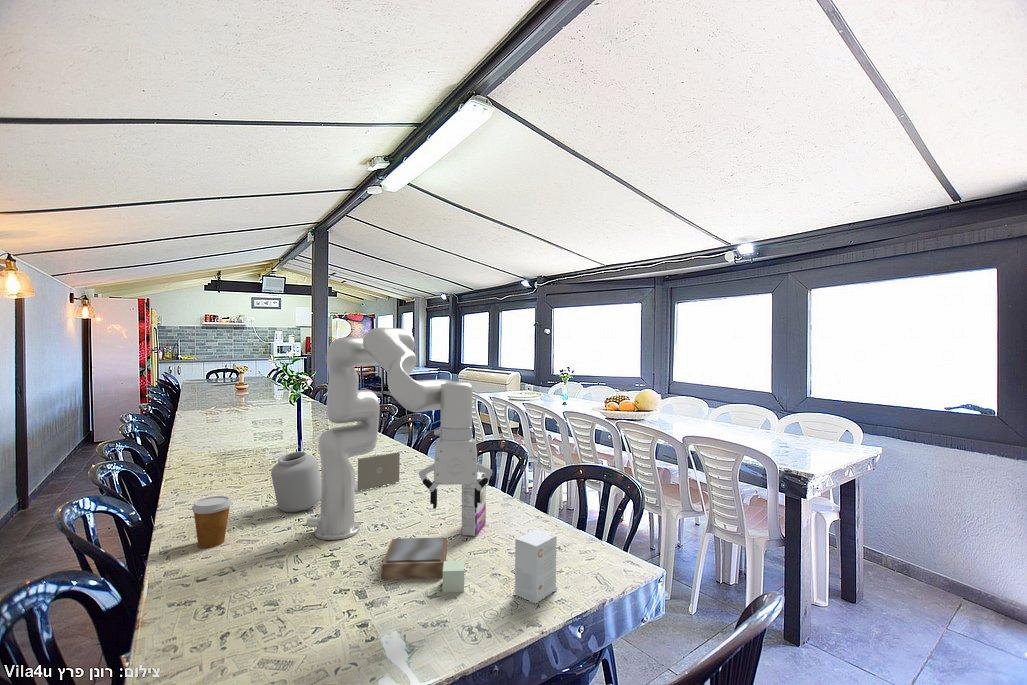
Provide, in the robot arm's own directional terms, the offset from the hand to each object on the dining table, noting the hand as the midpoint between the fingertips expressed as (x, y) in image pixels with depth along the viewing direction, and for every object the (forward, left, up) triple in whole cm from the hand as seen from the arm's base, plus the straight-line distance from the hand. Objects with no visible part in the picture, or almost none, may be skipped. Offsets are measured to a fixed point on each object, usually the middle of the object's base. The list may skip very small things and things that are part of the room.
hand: (455, 506), depth 111 cm
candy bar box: (+5, +34, -19) cm, 39 cm away
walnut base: (-10, +12, -19) cm, 25 cm away
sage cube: (0, 0, -19) cm, 19 cm away
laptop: (-36, +83, -20) cm, 93 cm away
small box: (+19, -4, -19) cm, 27 cm away
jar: (-56, +55, -19) cm, 81 cm away
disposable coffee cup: (-69, +28, -19) cm, 77 cm away
